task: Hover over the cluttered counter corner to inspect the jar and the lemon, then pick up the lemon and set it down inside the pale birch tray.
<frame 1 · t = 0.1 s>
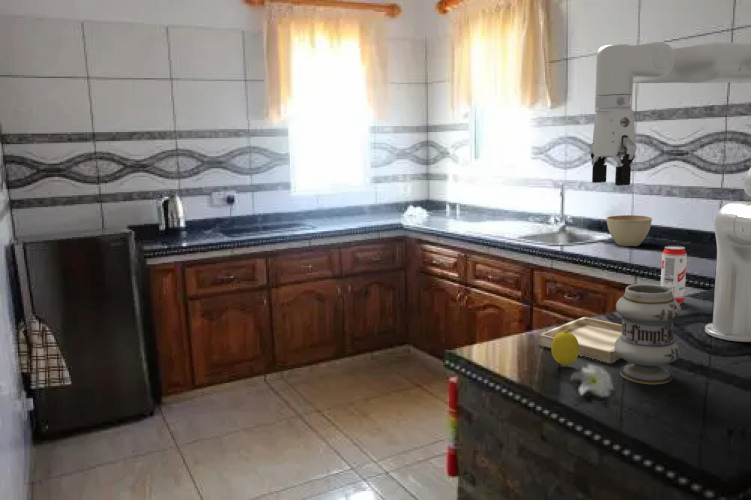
hand: (610, 183, 137), 37 cm above the worktop, tool pointing down, fingers open, 9 cm apart
beer can: (671, 303, 177), on the worktop
apothecary jar: (645, 376, 125), on the worktop
birch tray: (595, 343, 144), on the worktop
beige bowl: (627, 245, 270), on the worktop
lemon: (564, 367, 131), on the worktop
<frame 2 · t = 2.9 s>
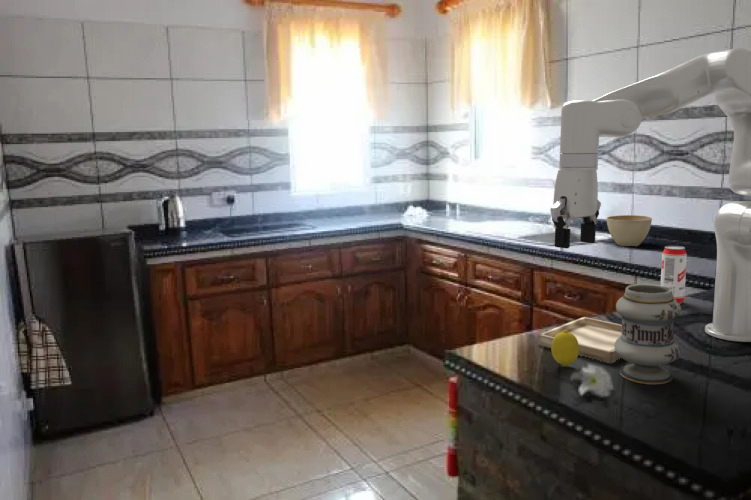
hand: (575, 244, 130), 25 cm above the worktop, tool pointing down, fingers open, 9 cm apart
nothing on the worktop moved.
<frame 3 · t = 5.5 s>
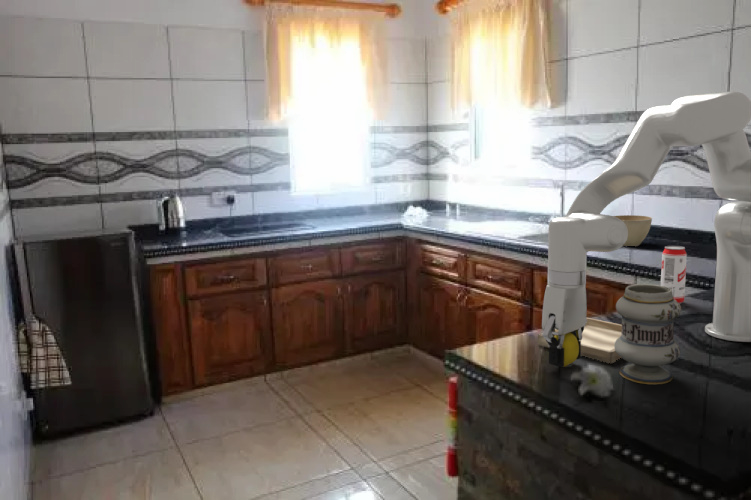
hand: (564, 360, 130), 1 cm above the worktop, tool pointing down, fingers closed on lemon, 5 cm apart
lemon: (564, 367, 131), on the worktop, touching gripper
everything else where it was.
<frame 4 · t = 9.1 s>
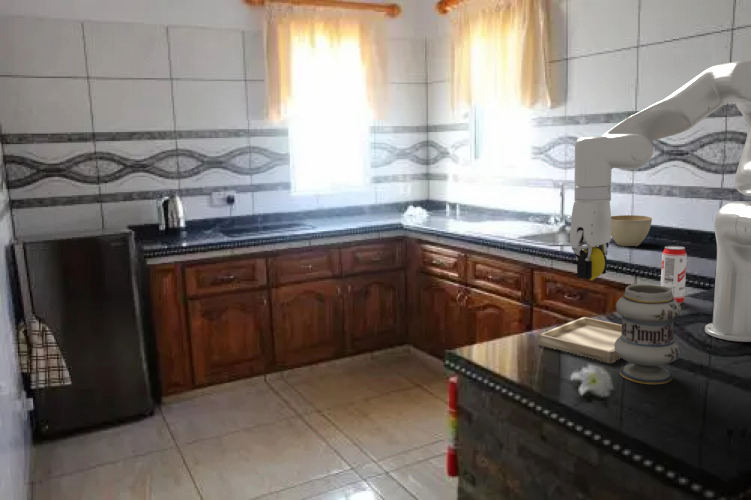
hand: (591, 274, 138), 17 cm above the worktop, tool pointing down, fingers closed on lemon, 5 cm apart
lemon: (591, 281, 138), point 16 cm above the worktop, touching gripper
everything else where it was.
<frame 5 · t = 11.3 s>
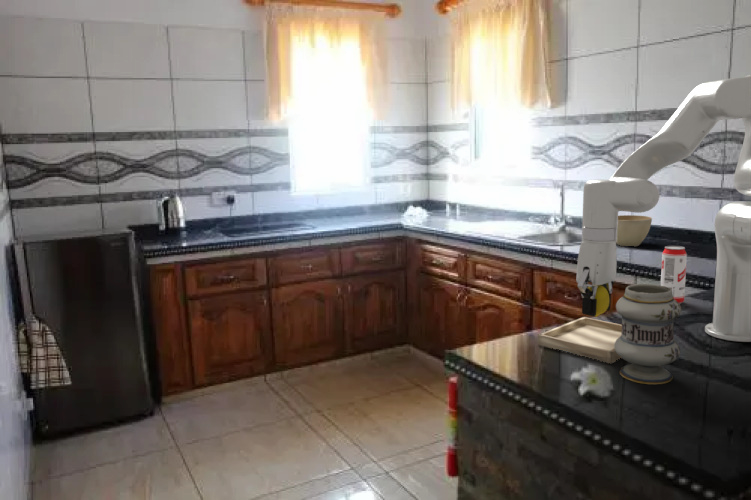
hand: (596, 311, 143), 8 cm above the worktop, tool pointing down, fingers closed on lemon, 5 cm apart
lemon: (595, 317, 143), point 6 cm above the worktop, touching gripper
everything else where it was.
when the fingers open (4 cm above the worktop, at t = 12.6 s): lemon drops 1 cm, resting on birch tray.
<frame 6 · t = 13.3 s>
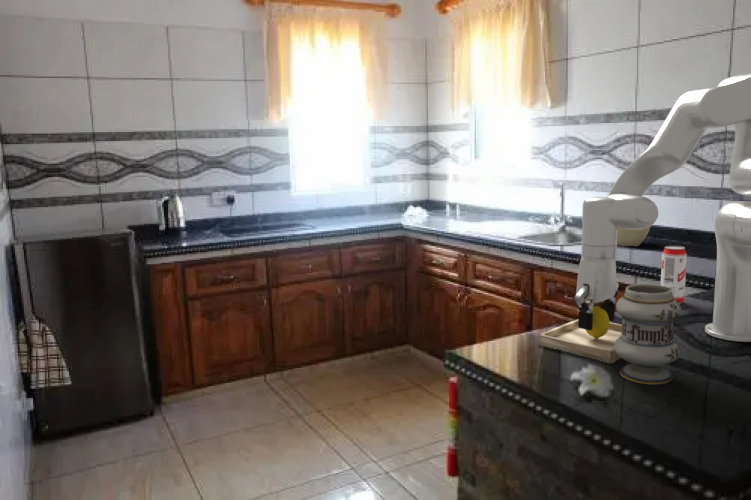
hand: (596, 324, 144), 5 cm above the worktop, tool pointing down, fingers open, 9 cm apart
lemon: (596, 340, 144), point 1 cm above the worktop, touching birch tray
everything else where it was.
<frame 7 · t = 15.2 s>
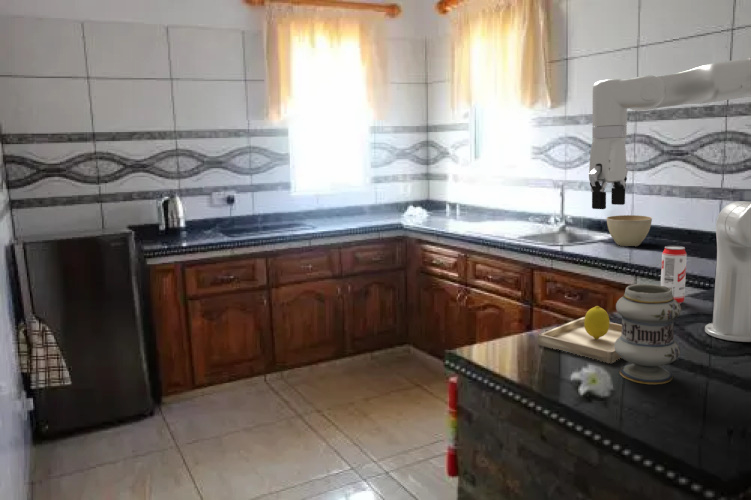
hand: (608, 206, 148), 31 cm above the worktop, tool pointing down, fingers open, 9 cm apart
nothing on the worktop moved.
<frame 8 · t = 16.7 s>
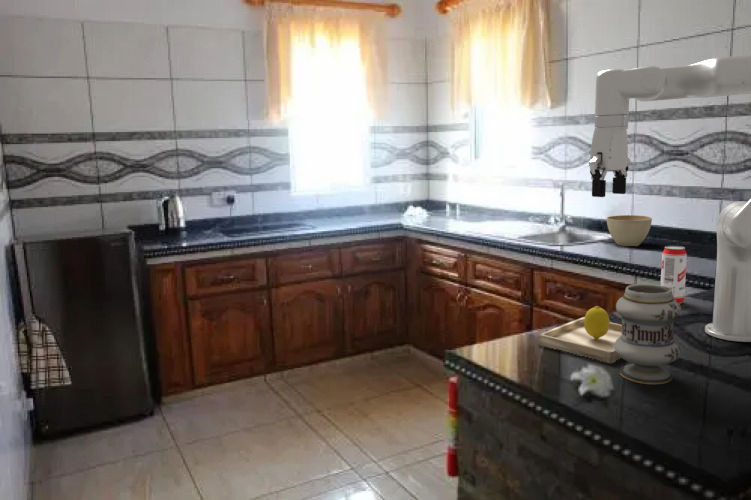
hand: (608, 195, 151), 33 cm above the worktop, tool pointing down, fingers open, 9 cm apart
nothing on the worktop moved.
at the end: lemon inside the target area on the birch tray (0.1 cm from its centre), point 0.8 cm above the birch tray's base; the gripper is holding nothing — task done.
